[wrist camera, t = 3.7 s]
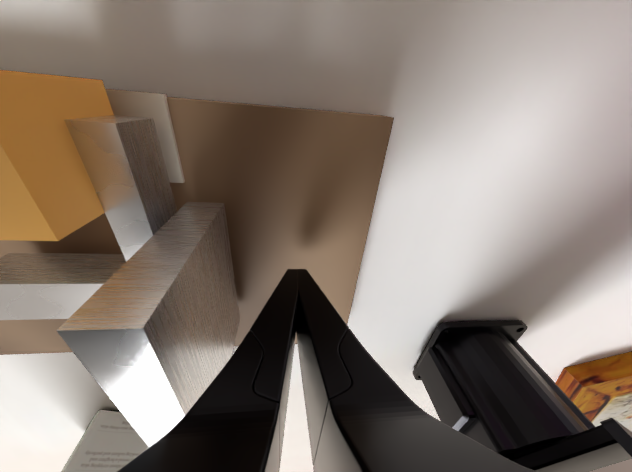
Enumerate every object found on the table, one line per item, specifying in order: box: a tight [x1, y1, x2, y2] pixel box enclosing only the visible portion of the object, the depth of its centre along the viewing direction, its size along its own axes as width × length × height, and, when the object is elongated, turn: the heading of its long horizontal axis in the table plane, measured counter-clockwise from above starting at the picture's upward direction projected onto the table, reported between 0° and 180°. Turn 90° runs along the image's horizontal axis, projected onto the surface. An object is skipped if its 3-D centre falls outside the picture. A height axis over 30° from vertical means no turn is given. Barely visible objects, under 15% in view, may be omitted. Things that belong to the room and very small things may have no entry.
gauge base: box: [0, 89, 394, 355], centre depth 8 cm, size 22×12×6 cm, turn 85°
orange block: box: [0, 70, 114, 241], centre depth 5 cm, size 2×3×3 cm, turn 175°
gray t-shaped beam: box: [0, 115, 240, 447], centre depth 6 cm, size 8×8×5 cm
